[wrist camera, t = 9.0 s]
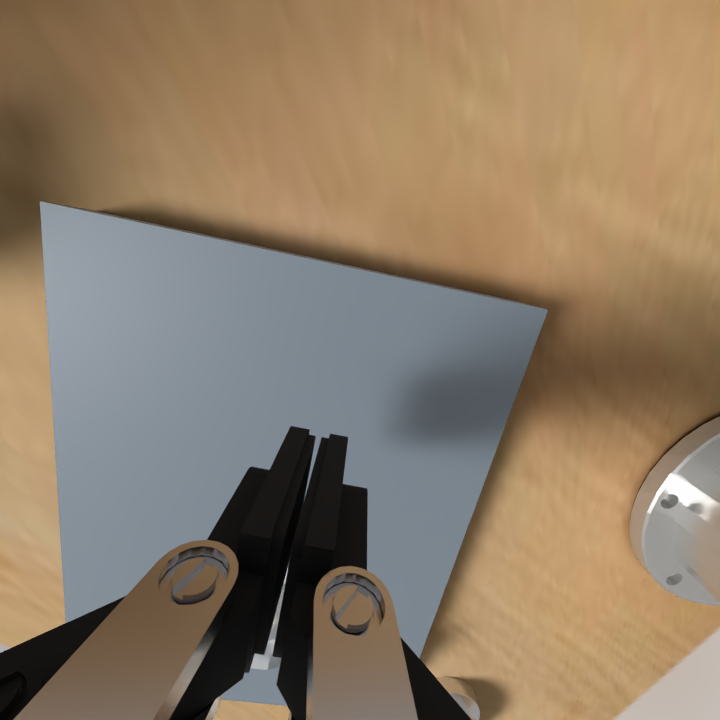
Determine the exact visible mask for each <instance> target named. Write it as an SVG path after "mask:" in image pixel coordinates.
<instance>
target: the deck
mask: <svg viewBox="0 0 720 720" xmlns="http://www.w3.org/2000/svg"><path fill="white" fill-rule="evenodd" d="M40 214H41V230H42V246H43V262H44V278H45V295H46V311H47V327H48V343H49V359H50V375H51V392H52V408H53V424H54V440H55V456H56V473H57V489H58V505H59V521H60V537H61V553H62V570H63V586H64V602H65V618H66V623H67V622H70V621H72V620H74V619H76V618H78V617H81V616H83V615H85V614H87V613H89V612H92V611H94V610H96V609H98V608H100V607H103V606H105V605H107V604H109V603H111V602H113V601H116V600H118V599H120V598H122V597H124V596H127V594H128V593H129V592H130V591H131V590H132V589H133V588H134V587H135V586H136V585H137V583H138V582H139V581H140V580H141V579H142V578H143V577H144V576H145V575H146V574H147V572H148V571H149V570H150V569H151V568H152V567H153V566H154V565H155V564H156V563H157V562H158V560H160V559H161V558H162V557H163V556H164V555H165V554H167V553H168V552H169V551H171V550H172V549H174V548H176V547H178V546H180V545H182V544H185V543H188V542H192V541H197V540H207V539H208V537H209V535H210V534H211V532H212V530H213V528H214V527H215V525H216V523H217V522H218V520H219V518H220V516H221V515H222V513H223V511H224V510H225V508H226V506H227V504H228V503H229V501H230V499H231V498H232V496H233V494H234V492H235V491H236V489H237V487H238V486H239V484H240V482H241V480H242V479H243V477H244V475H245V474H246V472H247V470H248V469H249V468H250V467H251V466H252V467H257V468H263V469H268V470H270V468H271V466H272V464H273V462H274V459H275V457H276V455H277V453H278V451H279V449H280V447H281V445H282V443H283V441H284V439H285V437H286V434H287V432H288V430H289V428H290V426H295V427H300V428H305V429H310V432H309V435H314V436H316V439H315V444H314V450H313V455H312V461H311V466H310V471H309V477H308V482H307V488H306V492H307V489H308V485H309V481H310V478H311V474H312V470H313V467H314V463H315V459H316V456H317V452H318V448H319V445H320V441H321V438H322V437H324V438H329V436H330V434H336V435H341V436H346V437H348V444H347V453H346V461H345V469H344V477H343V484H347V485H352V486H357V487H362V488H367V490H368V516H367V571H369V572H371V573H373V574H374V575H375V576H376V577H377V578H378V579H380V580H381V581H382V582H383V584H384V585H385V587H386V588H387V589H388V591H389V593H390V596H391V599H392V602H393V605H394V610H395V615H396V619H397V624H398V629H399V633H400V637H401V638H402V639H403V640H404V641H405V643H406V644H407V645H408V646H409V647H410V648H411V650H412V651H413V652H414V653H415V654H416V655H417V657H418V658H420V655H421V653H422V650H423V647H424V645H425V642H426V639H427V637H428V634H429V631H430V628H431V626H432V623H433V620H434V618H435V615H436V612H437V609H438V607H439V604H440V601H441V599H442V596H443V593H444V591H445V588H446V585H447V582H448V580H449V577H450V574H451V572H452V569H453V566H454V563H455V561H456V558H457V555H458V553H459V550H460V547H461V544H462V542H463V539H464V536H465V534H466V531H467V528H468V526H469V523H470V520H471V517H472V515H473V512H474V509H475V507H476V504H477V501H478V498H479V496H480V493H481V490H482V488H483V485H484V482H485V479H486V477H487V474H488V471H489V469H490V466H491V463H492V461H493V458H494V455H495V452H496V450H497V447H498V444H499V442H500V439H501V436H502V433H503V431H504V428H505V425H506V423H507V420H508V417H509V415H510V412H511V409H512V406H513V404H514V401H515V398H516V396H517V393H518V390H519V387H520V385H521V382H522V379H523V377H524V374H525V371H526V368H527V366H528V363H529V360H530V358H531V355H532V352H533V350H534V347H535V344H536V341H537V339H538V336H539V333H540V331H541V328H542V325H543V322H544V320H545V317H546V314H547V312H548V310H547V309H544V308H540V307H536V306H533V305H529V304H526V303H522V302H518V301H514V300H510V299H505V298H500V297H496V296H491V295H486V294H482V293H477V292H472V291H468V290H463V289H458V288H454V287H449V286H444V285H440V284H435V283H430V282H426V281H421V280H416V279H412V278H407V277H402V276H398V275H393V274H388V273H383V272H379V271H374V270H369V269H365V268H360V267H355V266H351V265H346V264H341V263H337V262H332V261H327V260H323V259H318V258H313V257H309V256H304V255H299V254H295V253H290V252H285V251H281V250H276V249H271V248H267V247H262V246H257V245H253V244H248V243H243V242H239V241H234V240H229V239H225V238H220V237H215V236H211V235H206V234H201V233H197V232H192V231H187V230H183V229H178V228H173V227H169V226H164V225H159V224H155V223H150V222H145V221H141V220H136V219H131V218H127V217H122V216H117V215H113V214H108V213H103V212H99V211H94V210H88V209H82V208H77V207H71V206H65V205H59V204H53V203H48V202H42V201H40ZM305 496H306V493H305ZM304 500H305V498H304ZM288 566H289V565H288ZM287 572H288V568H287ZM287 572H286V576H285V580H284V584H285V583H286V577H287ZM277 627H278V626H277ZM277 627H276V628H275V629H274V630H272V631H271V632H270V636H269V639H268V643H267V647H266V650H265V654H264V655H261V654H254V658H253V661H252V664H251V668H250V671H249V673H244V677H243V679H242V680H241V681H239V682H238V683H237V684H235V685H234V686H233V687H231V688H230V689H229V690H227V691H226V692H225V693H223V695H222V698H221V699H222V700H232V701H242V702H253V703H263V704H273V705H284V706H287V704H286V702H285V700H284V698H283V696H282V694H281V693H280V691H279V689H278V687H277V685H276V684H277V679H278V673H279V668H280V663H281V658H278V657H272V655H273V649H274V644H275V638H276V633H277Z"/></svg>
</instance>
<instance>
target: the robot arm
mask: <svg viewBox="0 0 720 720" xmlns="http://www.w3.org/2000/svg"><path fill="white" fill-rule="evenodd" d="M309 432H310V429H305V428H300V427H295V426H290V428H289V430H288V432H287V434H286V437H285V439H284V441H283V443H282V445H281V447H280V449H279V451H278V453H277V455H276V457H275V459H274V462H273V464H272V466H271V468H270V470H268V469H263V468H257V467H252V466H251V467H250V468H249V469H248V470H247V472H246V474H245V475H244V477H243V479H242V480H241V482H240V484H239V486H238V487H237V489H236V491H235V492H234V494H233V496H232V498H231V499H230V501H229V503H228V504H227V506H226V508H225V510H224V511H223V513H222V515H221V516H220V518H219V520H218V522H217V523H216V525H215V527H214V528H213V530H212V532H211V534H210V535H209V537H208V539H207V540H197V541H192V542H188V543H185V544H182V545H180V546H178V547H176V548H174V549H172V550H171V551H169V552H168V553H167V554H165V555H164V556H163V557H162V558H161V559H160V560H158V562H157V563H156V564H155V565H154V566H153V567H152V568H151V569H150V570H149V571H148V572H147V574H146V575H145V576H144V577H143V578H142V579H141V580H140V581H139V582H138V583H137V585H136V586H135V587H134V588H133V589H132V590H131V591H130V592H129V593H128V594H127V596H124V597H122V598H120V599H118V600H116V601H113V602H111V603H109V604H107V605H105V606H103V607H100V608H98V609H96V610H94V611H92V612H89V613H87V614H85V615H83V616H81V617H78V618H76V619H74V620H72V621H70V622H67V623H65V624H63V625H61V626H59V627H56V628H54V629H52V630H50V631H48V632H45V633H43V634H41V635H39V636H37V637H35V638H32V639H30V640H28V641H26V642H24V643H21V644H19V645H17V646H15V647H13V648H10V649H8V650H6V651H4V652H2V653H0V720H213V718H214V716H215V714H216V712H217V709H218V707H219V704H220V701H221V698H222V695H223V693H225V692H226V691H227V690H229V689H230V688H231V687H233V686H234V685H235V684H237V683H238V682H239V681H241V680H242V679H243V677H244V673H249V671H250V668H251V664H252V661H253V658H254V654H261V655H264V654H265V650H266V647H267V643H268V639H269V636H270V632H271V628H272V625H273V621H274V617H275V613H276V610H277V606H278V602H279V598H280V595H281V591H282V587H283V583H284V580H285V576H286V572H287V568H288V572H287V577H286V583H285V588H284V594H283V599H282V605H281V610H280V616H279V621H278V627H277V633H276V638H275V644H274V649H273V655H272V657H278V658H281V663H280V668H279V673H278V679H277V684H276V685H277V687H278V689H279V691H280V693H281V694H282V696H283V698H284V700H285V702H286V704H287V706H288V708H289V710H290V712H289V717H288V720H472V719H471V718H470V717H469V716H468V715H467V714H466V712H465V711H464V710H463V709H462V708H461V707H460V705H459V704H458V703H457V702H456V701H455V700H454V698H453V697H452V696H451V695H450V694H449V693H448V691H447V690H446V689H445V688H444V687H443V686H442V684H441V683H440V682H439V681H438V680H437V679H436V677H435V676H434V675H433V674H432V673H431V672H430V671H429V669H428V668H427V667H426V666H425V665H424V664H423V662H422V661H421V660H420V659H419V658H418V657H417V655H416V654H415V653H414V652H413V651H412V650H411V648H410V647H409V646H408V645H407V644H406V643H405V641H404V640H403V639H402V638H401V637H400V633H399V629H398V624H397V619H396V615H395V610H394V605H393V602H392V599H391V596H390V593H389V591H388V589H387V588H386V587H385V585H384V584H383V582H382V581H381V580H380V579H378V578H377V577H376V576H375V575H374V574H373V573H371V572H369V571H367V516H368V490H367V488H362V487H357V486H352V485H347V484H343V477H344V469H345V461H346V453H347V444H348V437H346V436H341V435H336V434H330V436H329V438H324V437H322V438H321V441H320V445H319V448H318V452H317V456H316V459H315V463H314V467H313V470H312V474H311V478H310V481H309V485H308V489H307V492H306V488H307V482H308V477H309V471H310V466H311V461H312V455H313V450H314V444H315V439H316V436H314V435H309ZM305 493H306V496H305ZM304 498H305V500H304ZM629 531H630V540H631V546H632V548H633V551H634V553H635V556H636V558H637V560H638V561H639V562H640V564H641V565H642V566H643V568H644V569H645V570H646V571H647V572H648V574H649V575H650V576H651V577H652V578H653V579H654V580H655V581H656V582H657V583H658V584H659V585H660V586H661V587H662V588H664V589H665V590H667V591H669V592H670V593H672V594H674V595H675V596H677V597H679V598H683V599H686V600H689V601H692V602H695V603H702V604H709V605H720V416H719V417H717V418H715V419H713V420H711V421H709V422H707V423H705V424H703V425H702V426H700V427H699V428H697V429H696V430H694V431H693V432H691V433H690V434H688V435H687V436H685V437H684V438H682V439H681V440H680V441H679V442H678V443H677V444H676V445H675V446H674V447H672V448H671V449H670V450H669V451H668V452H667V453H666V454H665V455H664V456H663V457H662V458H661V459H660V461H659V462H658V463H657V464H656V465H655V467H654V468H653V469H652V470H651V471H650V473H649V474H648V476H647V478H646V479H645V481H644V483H643V484H642V486H641V488H640V490H639V491H638V494H637V497H636V500H635V502H634V505H633V508H632V512H631V519H630V527H629ZM288 565H289V566H288Z"/></svg>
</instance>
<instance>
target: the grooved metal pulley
mask: <svg viewBox="0 0 720 720" xmlns="http://www.w3.org/2000/svg"><path fill="white" fill-rule="evenodd" d="M436 679H437V680H438V681H439V682H440V683H441V684H442V686H443V687H444V688H445V689H446V690H447V691H448V693H449V694H450V695H451V696H452V697H453V698H454V700H455V701H456V702H457V703H458V704H459V705H460V707H461V708H462V709H463V710H464V711H465V712H466V714H467V715H468V716H469V717H470V718H471V719H472V720H479V718H480V710H479V706H478V703H477V699H476V696H475V692H474V690H473V689H472V687H471V686H470V685H469V684H467V683H466V682H464V681H462V680H460V679H457V678H452V677H436Z"/></svg>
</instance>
